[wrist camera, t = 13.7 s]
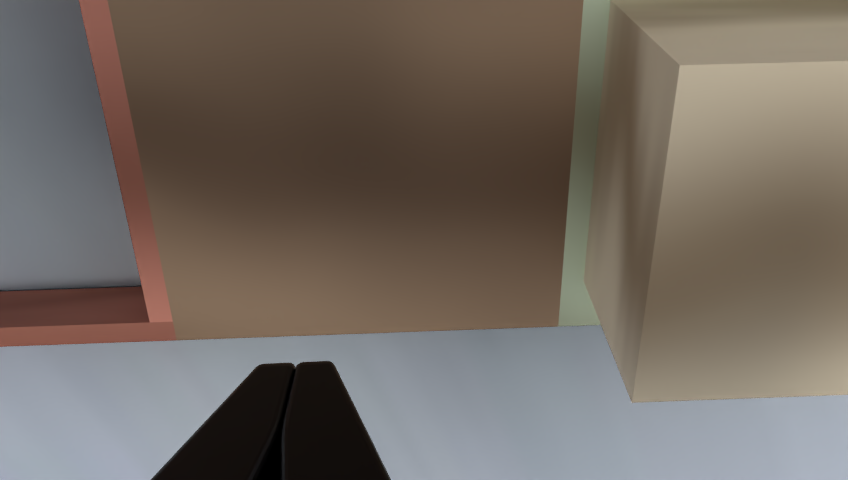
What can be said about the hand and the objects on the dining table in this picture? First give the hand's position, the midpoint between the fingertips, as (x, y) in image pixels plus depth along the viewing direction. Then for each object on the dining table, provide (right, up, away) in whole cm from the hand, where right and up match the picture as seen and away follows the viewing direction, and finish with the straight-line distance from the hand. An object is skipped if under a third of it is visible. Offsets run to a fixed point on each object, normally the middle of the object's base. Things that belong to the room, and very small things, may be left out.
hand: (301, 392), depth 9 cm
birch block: (+8, +4, +7) cm, 11 cm away
